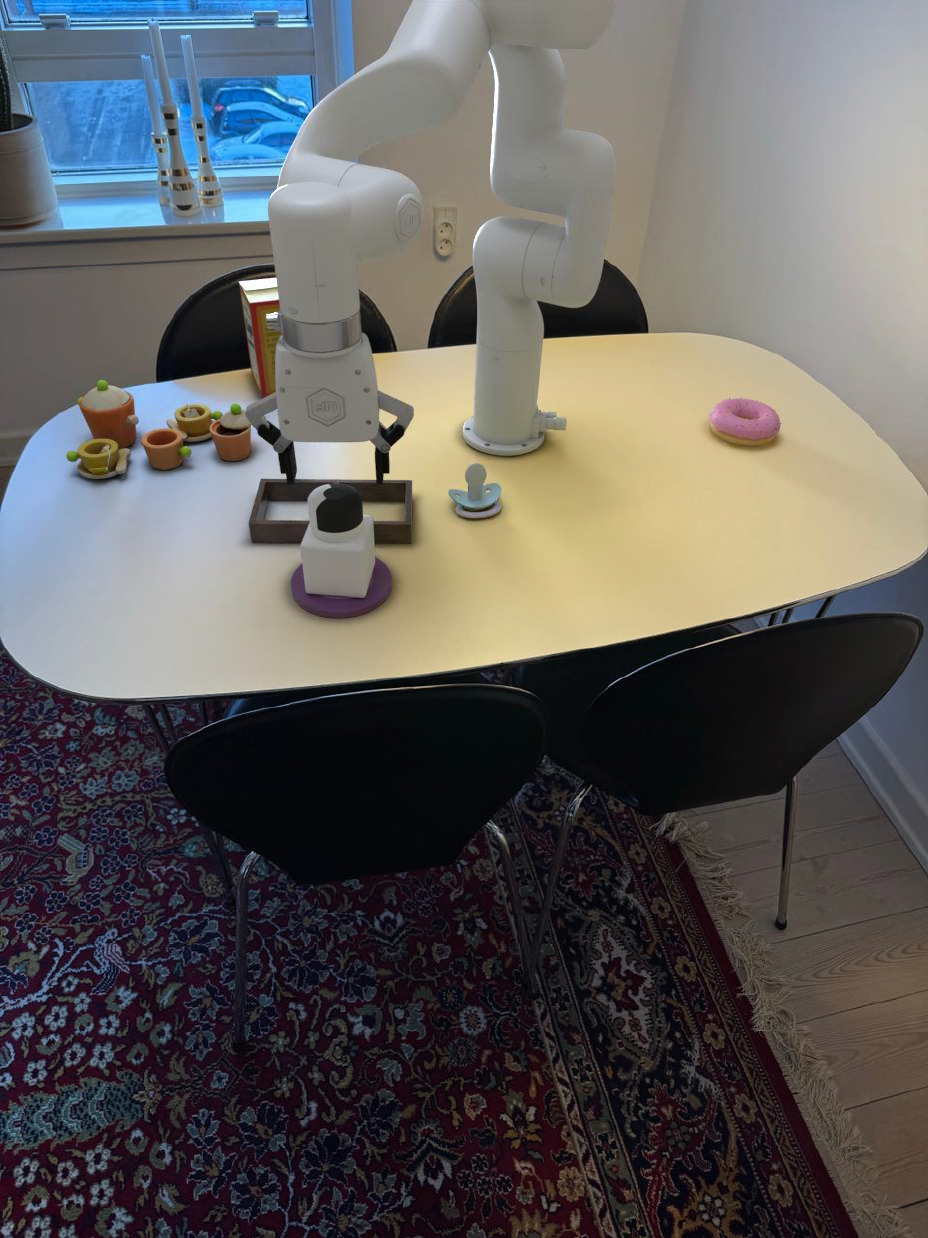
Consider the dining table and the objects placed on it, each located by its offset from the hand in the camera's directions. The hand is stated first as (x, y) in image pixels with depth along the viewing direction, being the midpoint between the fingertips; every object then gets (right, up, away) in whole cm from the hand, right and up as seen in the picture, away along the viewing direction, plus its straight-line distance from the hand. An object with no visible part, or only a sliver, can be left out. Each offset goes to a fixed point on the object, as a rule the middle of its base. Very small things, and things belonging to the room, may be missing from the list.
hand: (336, 477), depth 94 cm
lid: (-1, -12, +9) cm, 15 cm away
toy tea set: (-30, +9, +32) cm, 45 cm away
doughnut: (+58, +14, +42) cm, 73 cm away
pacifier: (+16, 0, +23) cm, 28 cm away
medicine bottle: (-1, -11, +9) cm, 14 cm away
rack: (-3, -2, +20) cm, 20 cm away
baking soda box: (-17, +24, +50) cm, 58 cm away
